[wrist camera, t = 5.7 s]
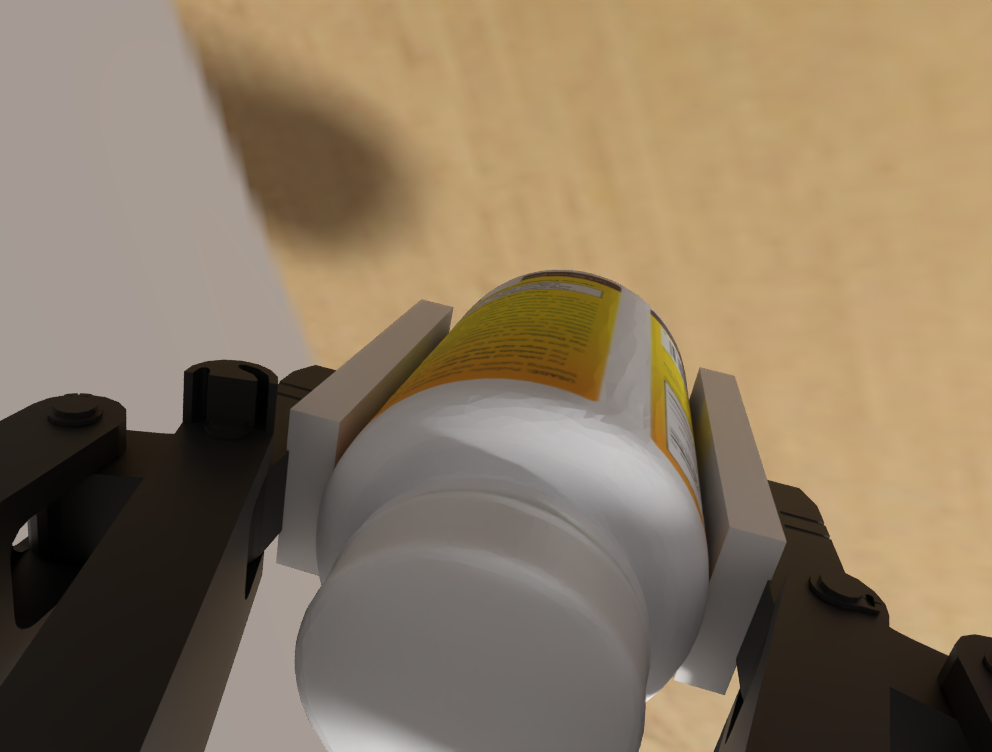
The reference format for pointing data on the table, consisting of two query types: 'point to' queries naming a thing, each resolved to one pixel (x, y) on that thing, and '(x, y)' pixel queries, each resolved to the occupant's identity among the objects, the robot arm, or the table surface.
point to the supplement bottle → (513, 536)
